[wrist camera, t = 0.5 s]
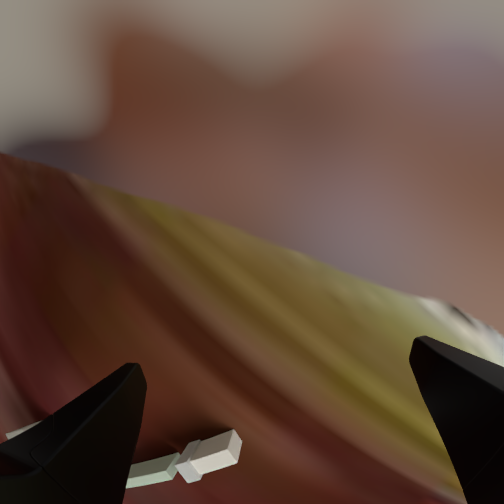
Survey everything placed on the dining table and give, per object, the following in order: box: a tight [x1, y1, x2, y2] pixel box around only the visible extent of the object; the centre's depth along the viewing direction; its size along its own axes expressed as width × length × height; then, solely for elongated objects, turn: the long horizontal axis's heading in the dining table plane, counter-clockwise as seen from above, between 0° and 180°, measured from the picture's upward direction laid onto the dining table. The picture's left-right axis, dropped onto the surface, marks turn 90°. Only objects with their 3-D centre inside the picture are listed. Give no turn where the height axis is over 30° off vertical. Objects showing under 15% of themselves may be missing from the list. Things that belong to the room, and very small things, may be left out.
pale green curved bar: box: [126, 452, 181, 488], centre depth 19 cm, size 12×2×4 cm, turn 118°
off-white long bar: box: [174, 429, 242, 483], centre depth 19 cm, size 2×22×4 cm, turn 119°
